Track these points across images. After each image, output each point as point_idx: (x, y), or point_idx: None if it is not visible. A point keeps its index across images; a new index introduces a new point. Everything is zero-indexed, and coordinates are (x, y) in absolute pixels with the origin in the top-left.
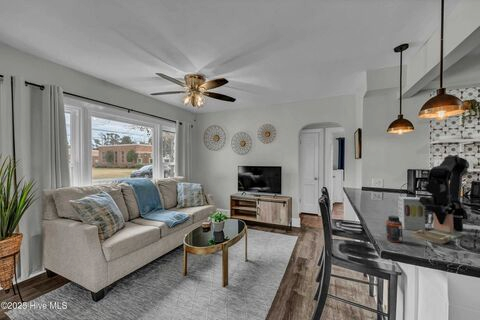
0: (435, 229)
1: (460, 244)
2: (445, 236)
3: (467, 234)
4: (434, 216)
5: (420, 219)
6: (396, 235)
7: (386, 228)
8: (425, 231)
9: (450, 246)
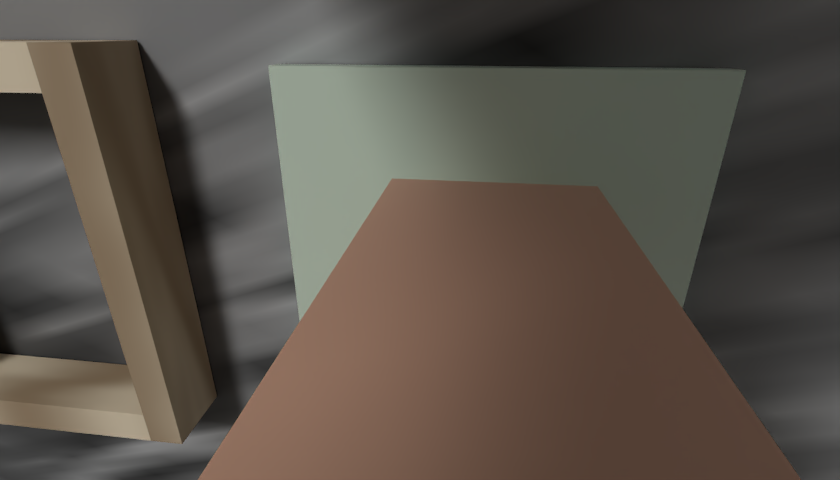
0: (690, 83)
1: (175, 468)
2: (96, 412)
3: (815, 448)
4: (254, 446)
5: None
6: None
7: None
8: (62, 144)
9: (8, 432)
